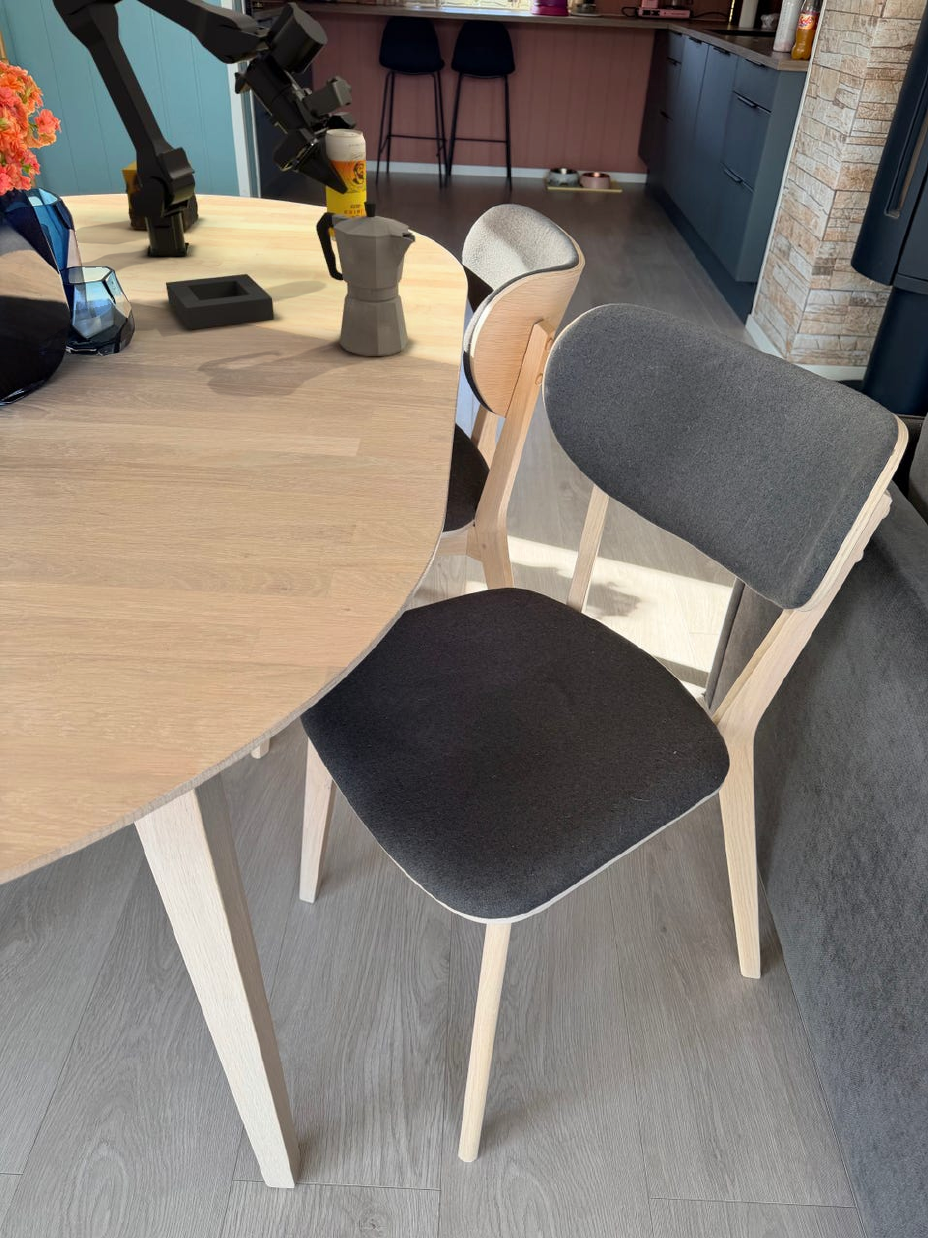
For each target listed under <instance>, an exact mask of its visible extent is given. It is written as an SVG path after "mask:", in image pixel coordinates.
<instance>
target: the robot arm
mask: <svg viewBox="0 0 928 1238" xmlns="http://www.w3.org/2000/svg"><path fill="white" fill-rule="evenodd" d="M51 1H52V4H53V6H54V9H55V11H56V12H57V14H58V15H59V17H60V19H61V20H62V22H63V24H64V25H65V26H66V28H67V30H68V32H70V33H71V35H73V37H74V38H75V39H77V41H78V42H79V43H81V44H82V46H84V47H85V48H86V50H87V51H88V52H89V54H90V56H91V60H92V61H93V63H94V65H95V67H96V69H97V72H98V73H99V75H100V78H101V80H102V82H103V84H104V86H105V88H106V91H107V93H108V95H109V97H110V99H111V101H112V103H113V106H114V108H115V109H116V112H117V113H118V116H119V118H120V120H121V122H122V124H123V127H124V128H125V132H126V133H127V135H128V137H129V140H130V141H131V143H132V146H133V148H134V150H135V159H136V160H135V161H136V167H137V175H138V178H139V181H140V184H141V189H140V190H139V192H138V193H137V194H136V196H135V197H134V198H133V200H132V201H131V206H132V208H133V211H134V213H135V215H136V216H137V217H145V218H146V224H147V230H146V231H147V236H148V240H149V245H148V248H147V250H146V252H145V253H146V256H147V257H180V256H181V257H184V256H185V257H186V256H188V254H189V249H190V243H189V242H186V241H185V234H184V231H183V226H182V219H181V212H180V211H181V210H183V209H187V208H188V207H189V201H190V197H191V196H192V194H193V192H194V191H195V188H196V180H195V177H194V174H195V173H196V171H195V170H194V168H193V167H192V165H191V166H190V164H189V162H188V161H189V159H188V157H187V153H186V151H185V149H184V148H183V146H179V147H176V148H174V147H173V146H172V145H171V144H170V143H169V142H168V141H167V140H166V138H165V136H164V135H163V133H162V130H161V128H160V126H159V124H158V121H157V120H156V117H155V115H154V113H153V110H152V108H151V106H150V104H149V101H148V100H147V98H146V96H145V93H144V90H143V88H142V86H141V84H140V82H139V80H138V78H137V75H136V73H135V71H134V68H133V67H132V64H131V62H130V60H129V58H128V55H127V53H126V50H125V49H124V47H123V45H122V43H121V40H120V33H119V32H120V30H119V29H120V28H119V27H120V26H119V25H120V24H119V14H118V11H117V8H116V5H118V4H120V3H122V2H124V0H51ZM136 1H137V2H139V3H141V4H142V5H144V6H145V7H147V8H149V9H151V10H152V11H154V12H156V13H158V14H159V15H161V16H163V17H165V18H166V19H168V20H170V21H172V22H174V23H175V24H177V25H178V26H180V27H182V28H184V29H185V30H187V31H188V32H189V33H191V34H192V35H193V36H194V37H195V38H196V40H197V41H198V42H199V44H200V45H201V46H202V48H203V49H205V50H207V52H208V53H210V55H213V57H215V58H216V59H217V60H219V62H221V63H223V64H225V65H234V64H239V63H246V62H249V64H248V65H247V66H246V68H245V69H244V70H240V71H235V72H234V93H235V94H236V95H240V94H246V93H249V92H250V91H251V92H252V93H253V94H254V96H255V97H256V98H257V99H258V100H259V102H260V103H261V105H263V107H264V108H265V110H267V112H268V113H269V114H270V115H271V117H270V118H269V119H268V121H269V123H270V124H271V125H272V126H273V127H276V126H279V127H280V128H281V130H283V132H284V133H285V135H284V136H283V137H282V139H281V140H280V141H279V142H278V144H277V145H276V146H275V147H274V149H272V160H273V162H274V163H275V165H276V166H277V167H278V168H279V170H280V171H281V172H285V171H287V170H289V169H292V171H293V172H294V173H299V174H301V175H303V176H306V177H308V178H310V179H312V180H314V181H316V182H318V183H320V184H322V185H324V186H325V187H326V186H328V187H329V188H331V189H333V190H335V191H337V192H339V193H341V194H345V193H346V192H347V191H348V188H347V186H346V184H345V183H344V181H343V179H342V178H341V176H340V175H339V173H338V172H337V170H336V168H335V167H334V165H333V164H332V162H331V161H330V159H329V158H328V156H327V151H326V140H325V136H326V132H327V131H328V130H334V129H349V130H354V128H355V127H356V126H357V125H358V122H357V121H356V119H355V117H353V115H352V114H351V113H350V112H347V111H341V112H337V113H334V114H332V112H334V111H336V110H338V109H341V108H342V107H344V106H345V107H346V106H347V107H349V106H350V105H352V104H353V103H354V101H353V99H352V96H351V93H352V91H353V88H352V86H351V85H350V84H348V82H347V80H346V79H343V78H342V77H341V76H340V75H336V76H332V78H329V79H327V80H326V81H325V83H326V84H325V86H322V87H321V88H319V89H316V90H315V91H312V90H311V89H310V88H308V87H304V88H303V87H302V88H301V87H300V86H299V84H298V83H297V82H296V81H295V79H294V78H293V77H292V75H291V74H294V73H295V74H299V75H302V74H304V72H306V70H307V68H309V66H310V65H311V64H312V62H313V61H314V60H315V59H316V57H317V56H318V55H319V54H320V53H321V51H322V49H323V48H325V46H326V45H327V43H328V36H327V34H326V32H325V30H324V28H323V27H322V25H321V24H320V23H319V22H318V20H315V19H314V18H313V17H312V16H310V14H308V13H307V12H305V11H304V10H302V9H300V8H299V6H298V5H297V3H296V2H287V3H286V4H285V6H284V7H283V8H282V10H281V12H280V14H279V16H278V17H277V19H276V20H275V22H274V23H273V25H272V26H270V28H267V27H265V26H260V25H259V23H258V22H257V20H256V19H255V18H253V17H252V16H250V15H248V14H246V13H242V12H239V11H236V10H233V9H231V8H228V7H223V6H218V5H216V4H211V3H208V2H207V1H204V0H136ZM262 50H266V51H265V52H264V54H262V56H261V57H258V56H259V55H260V54H261V51H262ZM293 160H295V161H296V165H295V166H294V165H293V162H292V161H293ZM293 166H294V167H293ZM292 167H293V168H292Z"/></svg>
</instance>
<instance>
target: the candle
mask: <svg viewBox="0 0 928 1238" xmlns="http://www.w3.org/2000/svg"><path fill="white" fill-rule="evenodd" d="M188 162H189V164H190V166H191V167H192V164H191V161H190V160H188ZM121 172H122V177H123V180H124V183H125V193H126V195H127V203H128V217H129V221H130V227H131V228H132V229H134V230H137V231H138V230H139V231H148V230H147V224H146V218H145V217H137V216H136V215H135V213H134V211H133V208H132V206H131V201H132V200H133V198H134V197H135V196H136V194H137V193H138V192H139V190H140V189H141V184H140V181H139V178H138V175H137V167H136V160H134V161H133V162H131V163H130V164H128V166H126V167H124V168H122V169H121ZM198 204H199V203H198V201H197V196H196V192H195V190H194V192H193V194H192V196H191V197H190V201H189V207H188V208H187V209H183V210H181V211H180V212H181V219H182V226H183V232H186V231H188V230H189V229H191V227H192V226H193V225H194V224H195V223H196V222H197V221H198V220H199V205H198Z"/></svg>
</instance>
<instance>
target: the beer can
mask: <svg viewBox="0 0 928 1238" xmlns="http://www.w3.org/2000/svg"><path fill="white" fill-rule="evenodd" d="M363 134H364V133H363V132H362V131H360V130H356V129H353V130H349V129H334V130H328V131H327V132H326V136H325V140H326V151H327V156H328V158H329V159H330V161H331V162H332V164H333V165H334V167H335V168H336V170H337V172H338V173H339V175H340V176H341V178H342V179H343V181H344V183H345V184H346V186H347V188H348V191H347V192H346V193H345V194H341V193H339V192H337V191H335V190H333V189H331V188H329V187H328V186H326V185H325V192H326V193H325V197H326V212H331V213H335V214H341V215H346V216H348V217H349V218H350V219H351V218H357V217H362V216H366V211H365V206H364V202H365V201H367V160H366V159H367V157H366V156H367V153H366V140H365V138H364V135H363ZM329 233H330V237H331V241H333V242H335V243H336V238H335V233H334V229H333V228H329Z"/></svg>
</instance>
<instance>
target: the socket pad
mask: <svg viewBox="0 0 928 1238" xmlns="http://www.w3.org/2000/svg"><path fill="white" fill-rule="evenodd" d="M165 287H166V293H167V300H168V304H169V306H171V308H172V309H173V311H174V312H175V313H176V314H177V316H178V317H179V318H180V320H181V321H182V322H183V323H184V325H185V326H186V327H187V328H188V330H189V331H191V330H198V329H207V328H215V327H222V326H231V325H237V324H246V323H254V322H260V321H261V322H262V321H269V320H274V319H275V314H274V304H273V297H272V296H271V295H270V294H269V293H267V291H266V290H264V288H263V287H261V285H259V284H258V283H257V282H256V281H255V280H254V279H253V277H251V276H250V275H249V274H248V273H244V274H233V275H224V276H214V277H206V278H205V277H204V278H195V279H185V280H177V281H168V282H165Z"/></svg>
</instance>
